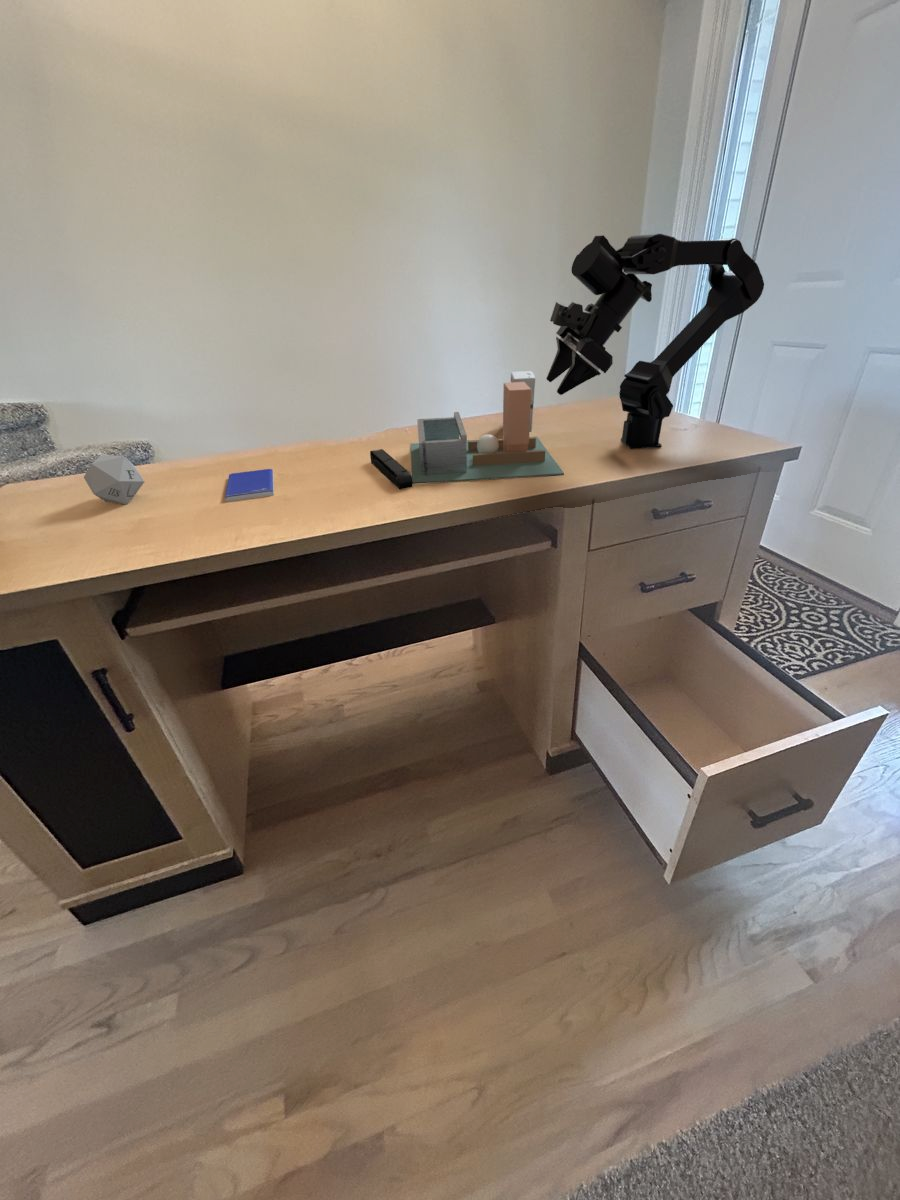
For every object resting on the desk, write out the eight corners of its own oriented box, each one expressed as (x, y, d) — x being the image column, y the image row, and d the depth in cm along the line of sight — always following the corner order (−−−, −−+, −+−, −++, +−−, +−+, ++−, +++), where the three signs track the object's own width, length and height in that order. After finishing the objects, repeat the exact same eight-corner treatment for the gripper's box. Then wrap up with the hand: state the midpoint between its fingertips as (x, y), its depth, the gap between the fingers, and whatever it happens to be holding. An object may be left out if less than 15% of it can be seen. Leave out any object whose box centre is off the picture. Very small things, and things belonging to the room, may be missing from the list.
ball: (497, 452, 109) (497, 431, 106) (500, 459, 105) (500, 437, 103) (475, 453, 108) (475, 432, 106) (478, 460, 105) (478, 438, 102)
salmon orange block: (521, 448, 110) (524, 381, 103) (528, 459, 104) (531, 389, 97) (502, 449, 110) (503, 382, 103) (508, 460, 104) (509, 390, 97)
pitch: (536, 437, 117) (537, 427, 116) (563, 474, 97) (564, 462, 96) (410, 445, 116) (410, 434, 115) (411, 484, 96) (410, 471, 95)
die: (99, 517, 90) (119, 470, 87) (66, 486, 92) (84, 439, 88) (141, 515, 98) (160, 472, 95) (110, 487, 99) (128, 443, 96)
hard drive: (272, 489, 94) (272, 468, 104) (224, 495, 92) (228, 473, 102) (274, 497, 95) (273, 475, 105) (226, 504, 93) (230, 481, 103)
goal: (459, 445, 114) (458, 411, 110) (467, 472, 99) (466, 435, 96) (419, 447, 113) (416, 414, 110) (421, 475, 99) (418, 437, 95)
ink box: (508, 423, 129) (509, 371, 122) (529, 422, 128) (531, 370, 122) (511, 433, 121) (512, 378, 115) (533, 432, 121) (535, 377, 115)
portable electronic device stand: (413, 489, 95) (412, 473, 93) (400, 492, 94) (398, 476, 92) (382, 461, 109) (380, 447, 107) (370, 463, 108) (368, 449, 106)
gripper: (564, 275, 98) (512, 351, 105) (591, 286, 83) (529, 374, 90) (607, 312, 102) (554, 383, 110) (640, 330, 87) (577, 410, 95)
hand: (553, 386), depth 101 cm, fingers open, 9 cm apart
